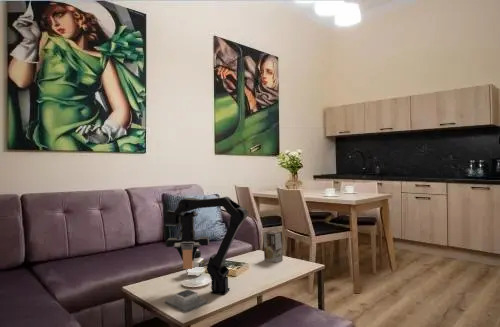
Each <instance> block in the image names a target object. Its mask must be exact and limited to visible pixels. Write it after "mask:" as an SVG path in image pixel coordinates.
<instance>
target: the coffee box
mask: <svg viewBox="0 0 500 327" xmlns="http://www.w3.org/2000/svg"><path fill="white" fill-rule="evenodd" d="M262 235H263V250H264V251H263V252H264V254H263V255H264V256H263V257H264V261H267V262H270V263H276V264H277V263H280V262H282V261H284V260H283V259H284V258H283V257H284V256H283V233H282V231H281V232H280V231H275V230H267V231H265V232H263V234H262Z"/></svg>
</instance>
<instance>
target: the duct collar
mask: <svg viewBox="0 0 500 327" xmlns="http://www.w3.org/2000/svg"><path fill="white" fill-rule="evenodd" d="M208 303H209V301H208V300H206V299H204V298H202V297H199V292H197V291H194V290H192V289H190V288H187V289H184V290H181V291H179V292H176V293H173V297H171V298H169V299H168V298H167V299H165V300H164V304H167V305H169V306H171V307H172V308H174V309H177V310H180V311H181V312H183V313H185V314H186V313H188V312H190V311H192V310H194V309H197V308H199V307H201V306H204V305H206V304H208Z"/></svg>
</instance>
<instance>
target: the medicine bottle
mask: <svg viewBox="0 0 500 327" xmlns="http://www.w3.org/2000/svg"><path fill="white" fill-rule="evenodd" d="M201 254H202V252H201V250H199V249H197V250H196V253H195V257H194V260H193V268H195V267H204V268H205V259H204V258H203V257H202V255H201ZM185 270H186V271H185V272H186V277H189V276H188V272H187V270H188V269H185Z"/></svg>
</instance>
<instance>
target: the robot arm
mask: <svg viewBox="0 0 500 327" xmlns="http://www.w3.org/2000/svg"><path fill="white" fill-rule="evenodd" d="M216 207H217V208H218V207H219V208H220V207H222V208H223V209H224V210H225V212H227V214H228V215H229V216H230V217H229V225H228V227H227V231H226V232H225V234H224V237H223V239H222V240H221V244H220V246H219V247H218V250H217V252H216V253H213V254H212V255H211V256H210V257H209V260H208V262H207V263H206V271H207V273H208V275H209V277H210V279H211V282H210V283H211V291H210V294H215V295H222V296H223V295H226V294H227V293H228V292H229V291H230V287H229V278H228V277H229V276H228V275H229V273H230V269H229V268H228V267H227V266H226V265H225V264H226V257H227V255H228V252H229V251H230V250H229V249H230V248H231V246H232V243H233V241H234V240H235V237H236V234H237V232H238V230H239V229H240V227H241V226H242V225H243V223H245V221H246V220H247V218H248V217H249V212H248V210H247V208H246V207H244V206H241V205H240V204H239V203H237V202H236V201H234V200H232V198H230V197H229V196H223V197H212V198H195V197H187V198H186V197H185V198H181V199H180V200H179V202H178V206H177V207H176V209H175V210H166V211H165V214H164V216H163V217H164V219H163V223H164V225H165V226H166V227H171V226H172V227H179V226H180V229H179V236H180V239H178V238H177V237H169V238H168V239H167V240H166V241H165V247H166V248H172V247H174V249H176V250H177V252H178V253H179V256H180V258H181V260H182V261H183V245H184V244H193V254H192V261H193V260H194V257H195V253H196V250H198V249H199V248H201V247H202V246H203V247H204V246H209V244H210V238H209V236H200V237H199V238H196V231H195V226H194V225H195V224H194V221H195V220H194V217H197V216H198V215H199V214H198V213H197V212H196V211H195V210H197V209H203V208H205V209H206V208H216ZM190 211H191V212H190Z"/></svg>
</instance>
